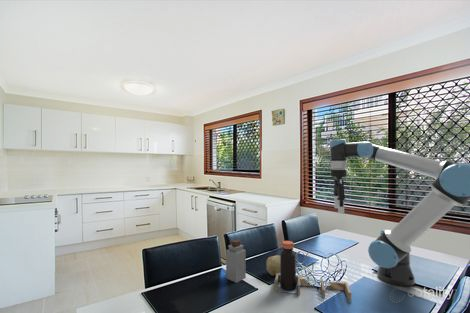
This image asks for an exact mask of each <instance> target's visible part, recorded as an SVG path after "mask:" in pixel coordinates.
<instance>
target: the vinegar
mask: <svg viewBox="0 0 470 313" xmlns="http://www.w3.org/2000/svg"><path fill="white" fill-rule="evenodd" d="M281 244H282V245H281V246H282V250H281V251H280V254H279V256H280V270H281V288H282V289H284V290H288V291H292V290H294V289H295V288H296V275H297V272H296V271H297V269H296V268H297V265H296V261H297V260H296V258H297V255H296V253H295V252H294V242H293V241H291V240H283V241H282V242H281Z"/></svg>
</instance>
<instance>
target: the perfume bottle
mask: <svg viewBox="0 0 470 313" xmlns="http://www.w3.org/2000/svg"><path fill="white" fill-rule="evenodd" d="M230 242H231V244H229V245H228V249H226V251H225V255H226V256H225V269H226V270H225V278H226V280H230V281H231V282H234V283H236V284H237V283H238V282H241V281H243V280H245V279H246V276H247V275H246V273H247V272H246V268H247V265H246V262H247V260H246V256H247V255H246V252H247V250H246V249H244V245H243V244H241V240H239V239H233V240H231V241H230Z"/></svg>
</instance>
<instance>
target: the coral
mask: <svg viewBox="0 0 470 313" xmlns="http://www.w3.org/2000/svg"><path fill="white" fill-rule="evenodd" d="M265 265H266V266H265V267H266V271H267V272H268V274H269V275H270V276H272V277H274V276H276V274H279V273H281V270H280V254H279V255H273V256H269V257H268V258H266V263H265Z"/></svg>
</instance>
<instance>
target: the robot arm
mask: <svg viewBox="0 0 470 313" xmlns="http://www.w3.org/2000/svg"><path fill="white" fill-rule="evenodd" d="M329 149H330V162H329V165H330V177H332V178H333V179H334V180H333V182H334V184H333V198H334V199H333V200H334V201H333V202H334V206H333V207H334V209H337V213H338V214H345V199H346V195H345V194H346V193H345V186H344V181H345V180H344V179H343V178H346V177H347V175H348V174H347V170H346V169H347V167H348V166H347V163H348V162H347V158H348V159H350V158H353V159H354V158H357V159H358V158H364V159H365V158H366V159H369V160H373V161H377V162H379V163H384V164H387V165H390V166H393V167H396V168H401V169H403V170H406V171H411V172H413V173H417V174H420V175H423V176H426V177H430V178H433V179H435V180H434V181H433V182H432V183H431V190H430V192H428V193H427V195H425V196H424V198H422V199H421V200H420V201H419V202H418V203H417V205H415V206H414V207H413V208H412V209H411V210H410V211H409V212H408V213H407V214H406V215H405V216H404V217H403V218H402V219H401V220H400V221H399V222H398V223H397V224H396V225H395V226H394V227H393V228H392V229H384V228H383V229H381V230H380V233H379V234H380V235H379V236H378V237H377V238H376V239H375V240H373V241H372V242H370V244H369V246H368V249H367V251H368V256H369V258H370V259H371V260H372V262H373V263H374V264H375V265H377V266H378V268H377V277H378V278H379V279H380V280H381V281H383V282H386V283H387V284H390V285H394V286H399V287H413V286H414V285H416V284H415V283H416V279H415V275H414V273H413V270H412V268H411V260H410V258H411V256H410V253H411V252H412V249H411V248H412V247H411V245H413V244H414V243H415V242H416V241H417V240H418V239H419V238H421V237H422V236H423V235H424V234H425V233H426V232H427V231H428V230H429V229H430V228H432V227H433V226H434V225H435V224H436V223H437V222H438V221H439V220H441V219H442V218H443V217H444V216H445V215H446V214H447V213H448V212H450V210H451V209H452V208H454V207H455V206H463V205H465V204H466V203H467V202H468V201H469V200H470V163H466V162H465V163H464V162H461V163H460V162H456V161H455V162H453V161H449V160H443V161H439V160H436V159H433V158H428V157H425V156H421V155H417V154H416V155H415V154H412V153H408V152H405V151H400V150H397V149H392V148H389V147H384V146H380V145H376V144H373V143H372V142H370V141H357V142H354V141H353V142H347V139H344V138H337V139H331V141H330V147H329Z"/></svg>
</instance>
